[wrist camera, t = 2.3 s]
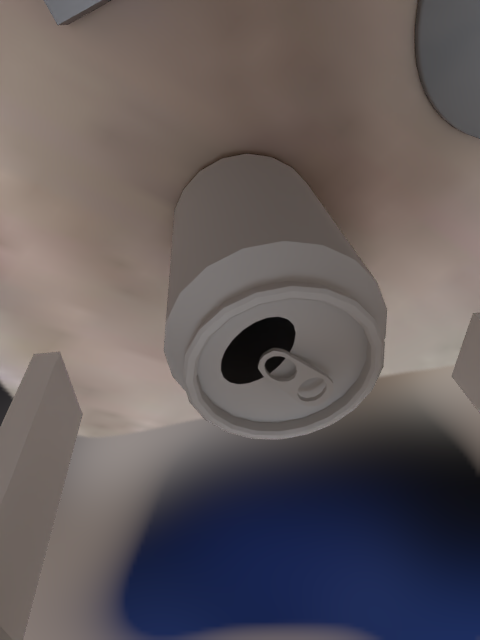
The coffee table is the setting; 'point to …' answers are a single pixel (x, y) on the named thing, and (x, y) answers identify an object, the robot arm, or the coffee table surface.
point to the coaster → (450, 60)
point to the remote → (72, 9)
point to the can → (268, 304)
